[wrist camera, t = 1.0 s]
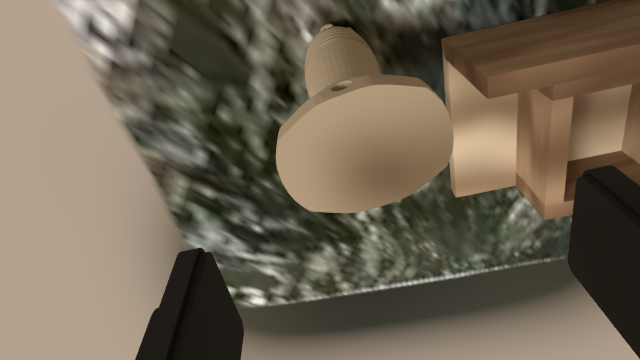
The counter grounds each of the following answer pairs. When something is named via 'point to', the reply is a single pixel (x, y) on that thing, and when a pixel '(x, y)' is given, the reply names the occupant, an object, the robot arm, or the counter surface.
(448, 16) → the counter surface
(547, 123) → the wooden box holder
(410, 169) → the handle
